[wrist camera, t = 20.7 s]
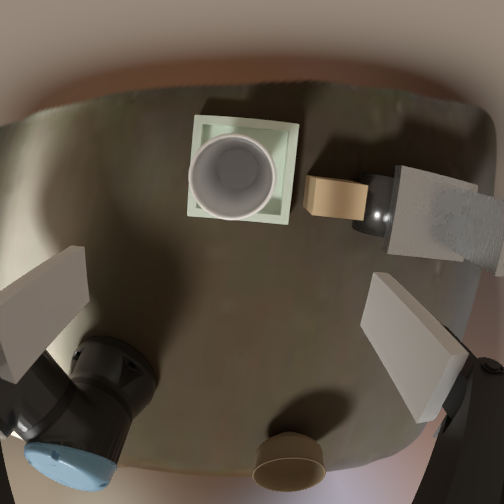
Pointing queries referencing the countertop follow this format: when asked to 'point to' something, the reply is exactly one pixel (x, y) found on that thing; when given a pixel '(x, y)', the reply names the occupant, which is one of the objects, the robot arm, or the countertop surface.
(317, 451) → the bowl
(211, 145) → the drinking glass
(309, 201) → the wooden block
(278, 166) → the tray
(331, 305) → the countertop surface
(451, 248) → the grey toy cart
